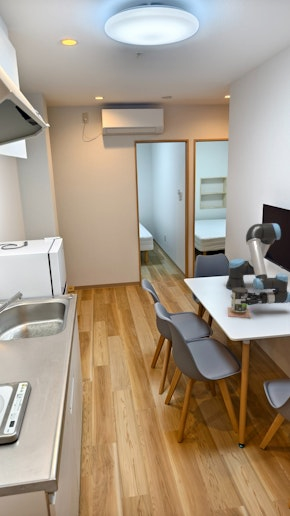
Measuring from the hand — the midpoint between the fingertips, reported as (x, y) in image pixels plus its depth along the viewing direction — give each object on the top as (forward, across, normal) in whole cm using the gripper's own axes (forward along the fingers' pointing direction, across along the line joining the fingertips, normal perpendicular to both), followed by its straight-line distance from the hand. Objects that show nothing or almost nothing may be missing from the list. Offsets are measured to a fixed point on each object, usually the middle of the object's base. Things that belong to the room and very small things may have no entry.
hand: (233, 298), depth 229 cm
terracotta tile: (-4, 0, -11) cm, 11 cm away
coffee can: (-4, 0, -8) cm, 9 cm away
